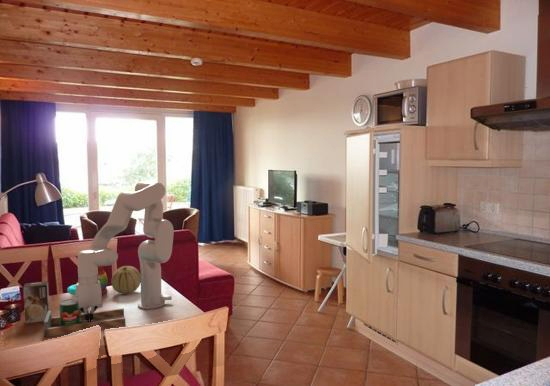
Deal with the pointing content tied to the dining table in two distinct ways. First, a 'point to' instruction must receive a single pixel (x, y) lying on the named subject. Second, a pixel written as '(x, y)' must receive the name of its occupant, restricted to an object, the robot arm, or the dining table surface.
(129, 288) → the cantaloupe
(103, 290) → the stacking bear
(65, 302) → the canned tomato
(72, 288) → the donuts
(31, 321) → the coffee box
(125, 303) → the dining table surface
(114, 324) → the bay
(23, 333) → the dining table surface
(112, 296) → the dining table surface
